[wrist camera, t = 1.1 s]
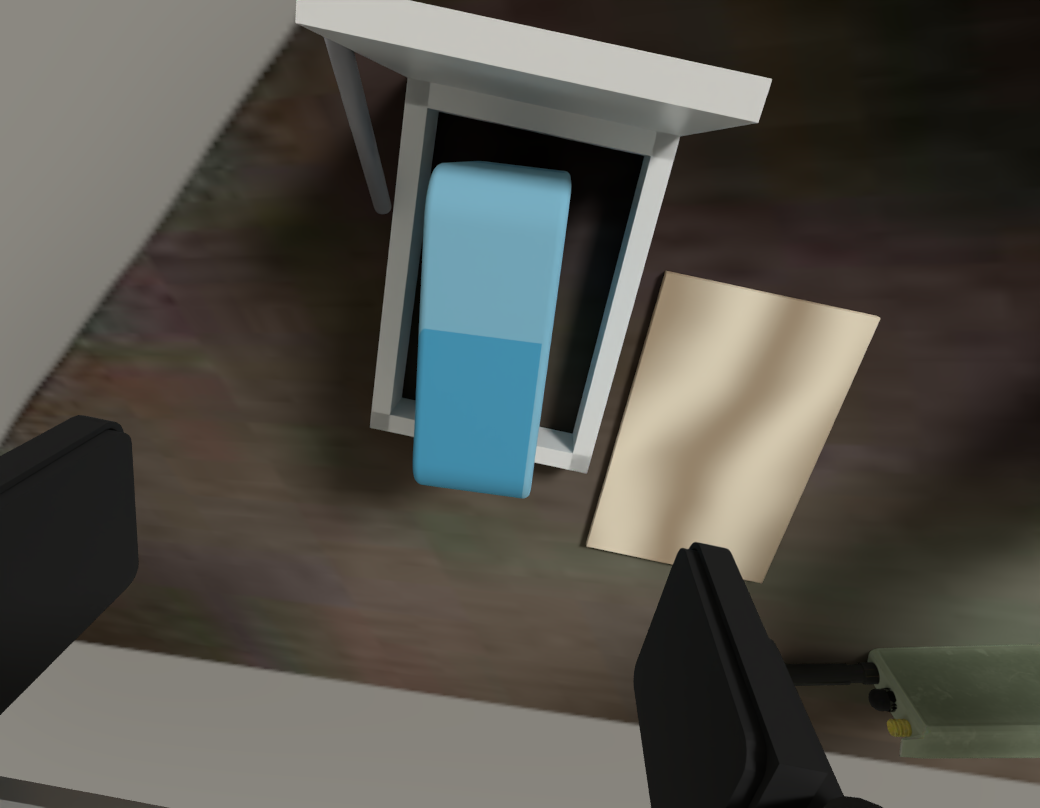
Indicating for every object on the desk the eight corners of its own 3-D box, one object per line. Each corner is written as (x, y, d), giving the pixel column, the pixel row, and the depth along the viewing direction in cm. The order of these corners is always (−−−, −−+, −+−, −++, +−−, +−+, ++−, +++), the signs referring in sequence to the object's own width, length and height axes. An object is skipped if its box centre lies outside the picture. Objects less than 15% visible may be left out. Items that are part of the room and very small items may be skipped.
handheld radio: (1185, 672, 38) (775, 680, 41) (1199, 630, 37) (777, 641, 39) (1306, 768, 32) (812, 770, 34) (1328, 721, 31) (816, 727, 33)
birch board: (875, 315, 31) (880, 318, 30) (759, 578, 37) (761, 583, 37) (665, 270, 30) (667, 272, 30) (586, 541, 37) (586, 546, 37)
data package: (478, 159, 29) (424, 162, 18) (571, 170, 29) (572, 180, 18) (461, 387, 34) (409, 500, 23) (540, 397, 34) (527, 516, 23)
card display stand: (677, 114, 28) (772, 79, 15) (585, 452, 35) (595, 627, 22) (404, 55, 28) (261, -32, 15) (367, 406, 35) (248, 554, 22)
